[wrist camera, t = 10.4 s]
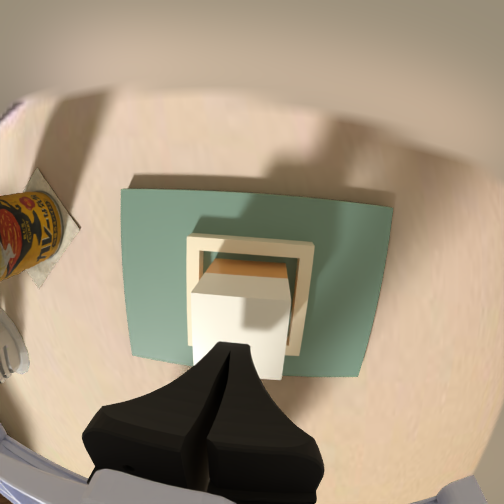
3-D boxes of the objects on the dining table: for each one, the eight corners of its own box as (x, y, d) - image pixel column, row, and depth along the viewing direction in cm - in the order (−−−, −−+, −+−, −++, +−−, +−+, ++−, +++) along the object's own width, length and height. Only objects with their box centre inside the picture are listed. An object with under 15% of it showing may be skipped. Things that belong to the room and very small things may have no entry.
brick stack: (214, 320, 20) (194, 371, 14) (215, 258, 19) (190, 292, 13) (279, 326, 20) (281, 380, 14) (285, 263, 19) (291, 300, 13)
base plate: (136, 349, 22) (126, 363, 20) (127, 188, 19) (112, 190, 17) (355, 369, 21) (361, 386, 19) (387, 206, 18) (400, 209, 16)
